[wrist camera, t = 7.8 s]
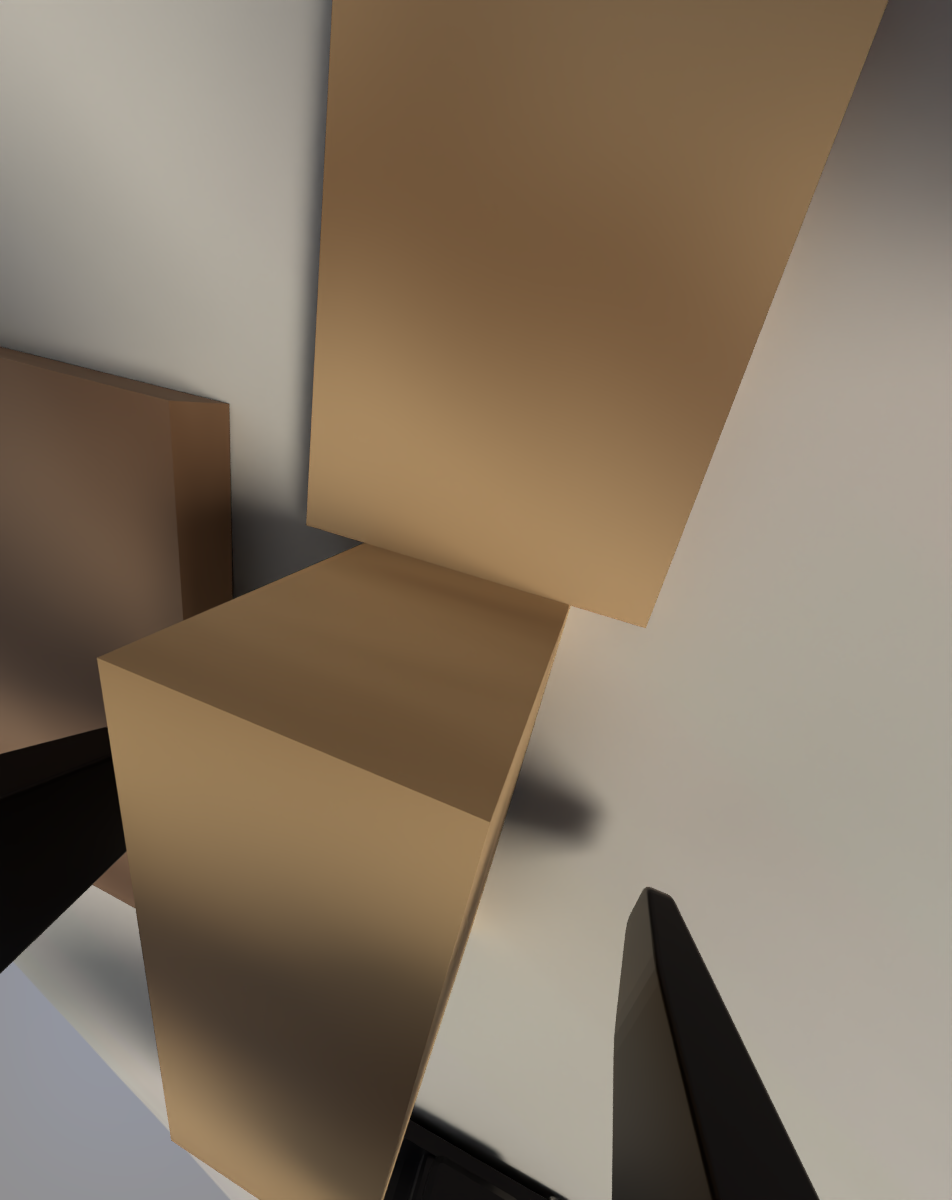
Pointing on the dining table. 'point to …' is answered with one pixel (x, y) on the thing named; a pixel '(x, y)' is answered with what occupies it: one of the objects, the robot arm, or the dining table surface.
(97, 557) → the board
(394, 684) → the stepped wooden block
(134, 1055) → the dining table surface
